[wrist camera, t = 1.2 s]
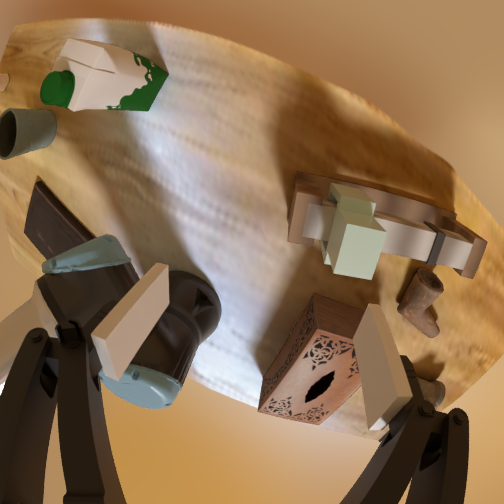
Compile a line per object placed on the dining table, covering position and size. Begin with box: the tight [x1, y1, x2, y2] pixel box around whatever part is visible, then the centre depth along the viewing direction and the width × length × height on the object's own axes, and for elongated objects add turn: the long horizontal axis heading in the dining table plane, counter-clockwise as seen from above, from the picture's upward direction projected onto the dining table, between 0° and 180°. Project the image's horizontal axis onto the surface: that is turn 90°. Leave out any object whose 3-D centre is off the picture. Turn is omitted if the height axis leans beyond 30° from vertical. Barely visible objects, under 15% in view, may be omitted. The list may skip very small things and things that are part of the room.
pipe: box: [397, 268, 444, 338], centre depth 42 cm, size 6×17×10 cm
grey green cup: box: [0, 108, 57, 160], centre depth 34 cm, size 10×10×12 cm
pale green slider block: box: [319, 183, 387, 280], centre depth 29 cm, size 4×8×13 cm, turn 173°
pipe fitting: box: [416, 377, 445, 410], centre depth 49 cm, size 12×8×10 cm, turn 66°
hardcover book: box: [24, 181, 95, 260], centre depth 50 cm, size 16×23×2 cm
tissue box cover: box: [258, 293, 365, 425], centre depth 48 cm, size 26×14×10 cm, turn 161°
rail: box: [288, 171, 487, 279], centre depth 34 cm, size 29×8×11 cm, turn 83°
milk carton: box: [40, 38, 169, 112], centre depth 26 cm, size 9×9×20 cm
